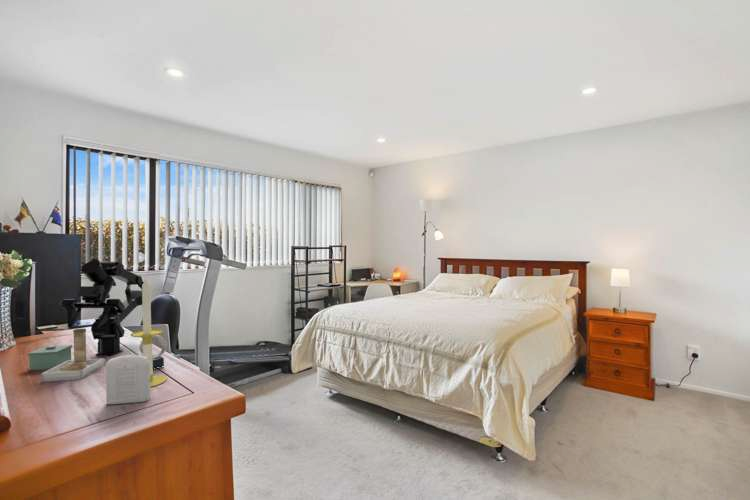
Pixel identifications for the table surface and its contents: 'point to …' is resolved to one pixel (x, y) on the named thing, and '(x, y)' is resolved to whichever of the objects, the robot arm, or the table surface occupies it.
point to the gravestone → (128, 379)
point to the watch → (157, 359)
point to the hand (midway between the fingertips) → (83, 326)
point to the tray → (56, 375)
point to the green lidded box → (49, 357)
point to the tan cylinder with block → (77, 352)
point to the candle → (148, 332)
